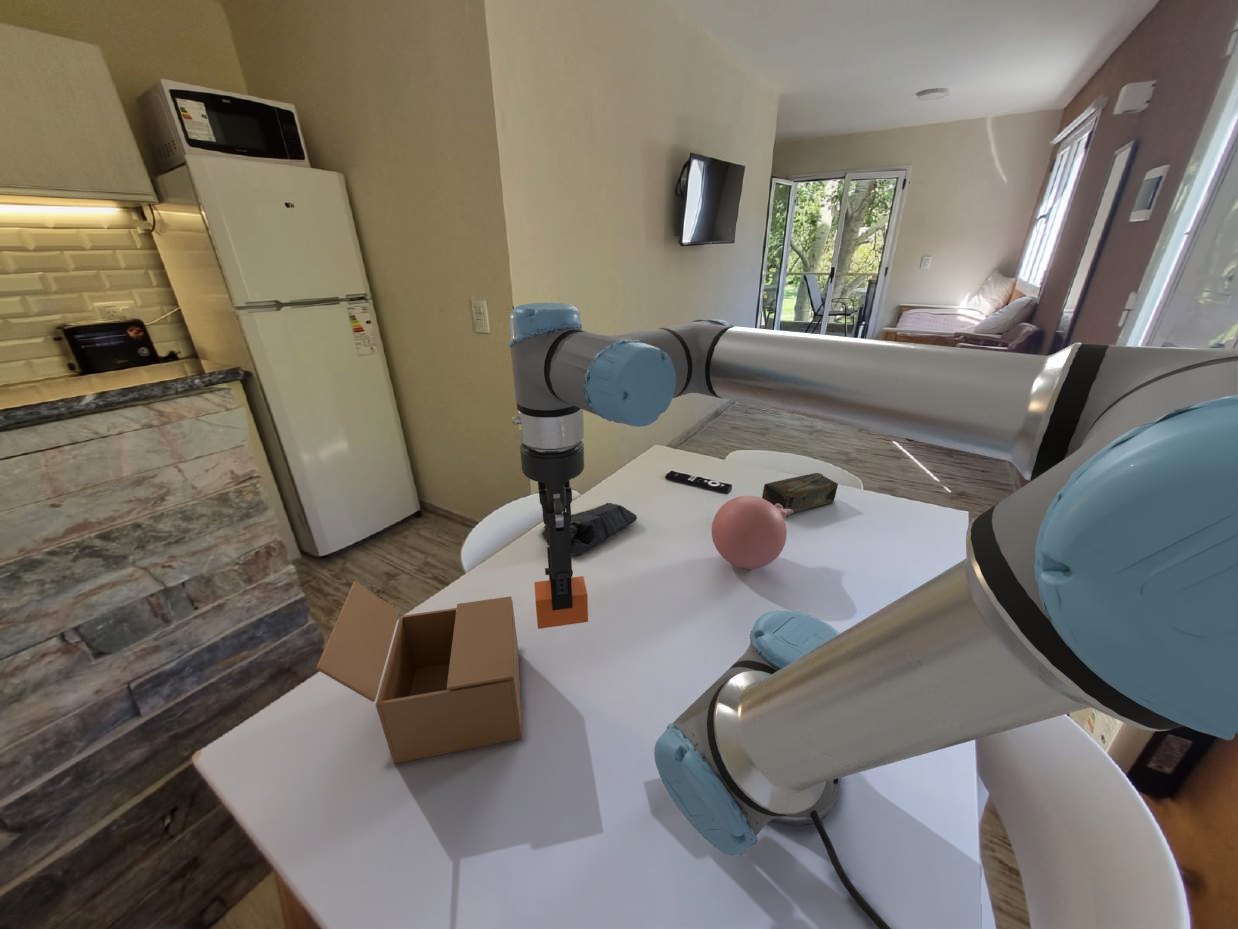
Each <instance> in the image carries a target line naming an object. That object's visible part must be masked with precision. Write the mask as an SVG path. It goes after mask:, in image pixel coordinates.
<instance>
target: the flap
mask: <svg viewBox="0 0 1238 929" xmlns="http://www.w3.org/2000/svg"><path fill="white" fill-rule="evenodd" d="M399 617H400V611H399V610H397V609H396V608H395V607H393V606H392V605H390V604H389V603H388V602H386V601H385V600H383V599H382V598H381V597H379V596H378V595H377V594H375V593H374V592H372V591H371V590H369V589H368V588H367V587H365V586H364V585H362V584H360V582H358V581H357V580H354V581H353V582H352V585H351V587H350V588H349V591H348V594H347V596H346V598H345V600H344V603H343V605H342V607H341V610H340V612H339V615H338V617H337V619H336V621H335V623H334V625H333V628H332V631H331V632H330V635H329V636H328V639H327V642H326V644H325V646H324V649H323V652H322V653H321V655H320V658H319V661H318V663H317V665H316V667H315V670H316V671H318V672H320V673H322V674H323V675H325V676H327V677H329V678H331V679H332V680H333V681H336V682H337V683H339V684H340V685H342V686H344V687H346V688H348V689H350V690H351V691H353V692H355V693H357V694H358V695H360V696H361V697H364V698H365V699H367V700H368V701H370V702H371V703H373V702H375V701H376V698H377V696H378V695H377V694H378V692H379V689H380V684H381V681H382V678H383V674H384V671H385V667H386V666H385V665H386V663H387V660H388V659H387V658H388V656H389V653H390V649H391V645H392V642H393V638H394V635H395V631H396V627H397V624H398V620H399Z"/></svg>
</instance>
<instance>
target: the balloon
mask: <svg viewBox="0 0 1238 929" xmlns="http://www.w3.org/2000/svg"><path fill="white" fill-rule="evenodd" d="M793 514H794V513H793V510H792V509H783V507H782V505H780V504H779V503H777V504H775V506H774V505H773V504H771V503H770V502H768V501H767V500H765V499H762V497H760V496H755V495H740V496H736V497H733V498H731V499H729V500H727V501H725V502H724V503H723V504H722V505H721V506H720V507H719V509H717V511H716V513H715V514H714V518H713V519H712V522H711V538H712V543H713V545H714V547H715V549H716V551H717V553H719V555H720V556H721V558H723V559H724V560H725V561H727V562H728V563H729V564H731V565H733V566H736V567H738V568H740V569H748V570H751V569H759V568H763V567H766V566H768V565H769V564H771V563H773V562H774V561H775V560H776V559H777V558H778V557H779V556H780V555H781V553H782V552H783V550H784V548H785V545H786V542H787V537H788V536H787V525H786V520H787V517H788V516H790V515H793Z"/></svg>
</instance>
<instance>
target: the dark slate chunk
mask: <svg viewBox="0 0 1238 929" xmlns="http://www.w3.org/2000/svg"><path fill="white" fill-rule="evenodd" d="M637 519H638V516H637V514H635V513H634V512H632V511H631V510H630V509H627V508H626V507H625V506H623V505H621V504H617V503H612V502H606V503H604V504H602V505H599V506H598V507H597V506H596V507H595V508H591V509H588V510H585V511H580V512H577V513H573V514H572V513H571V522H570V537H571V555H572V556H573V557H575V556H576V557H579V556H581V555H583V553H585V552H587V551H588V550H591V549H593V548H595V547H598V545H601V544H603V543H605V542H606V541H607V540H608V539H609V538H612V537H613V536H615V535H617V534H618V533H619V532H621V531H623V530H625V529H626V528H627V527H628V526H630V525H631V524H633V523H635V522H636V521H637ZM545 528H546V525H545V524H544V527H543V529H544V530H542V532H541V533H542V536H543V538H544V539H545V540H546V539H547V532H546V531H545ZM575 539H579V540H580V541H581V542H583V543H586V544H580V543H579V542H578V541H576V540H575Z"/></svg>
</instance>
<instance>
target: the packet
mask: <svg viewBox="0 0 1238 929" xmlns="http://www.w3.org/2000/svg"><path fill="white" fill-rule="evenodd" d="M533 583H534V599H535V600H534V601H535V608H536V609H535V612H536V620H537V621H536V624H537V629H538V630H539V629H546V628H547V629H548V628H554V627H563V626H570V625H576V624H582V623H589V601H588V600H589V599H588V590H587V585H586V581H585V576H584V575H581V576H572V577H571V583H572V605H573V608H568V609H560V610H552V598H551V583H550V580H540V581H539V580H538V581H534V582H533Z"/></svg>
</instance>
